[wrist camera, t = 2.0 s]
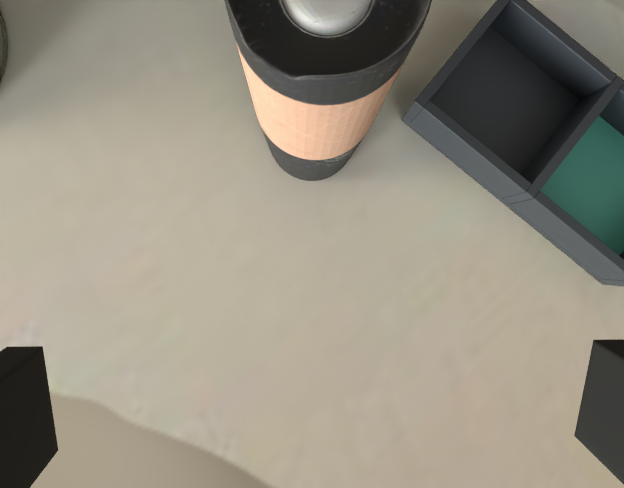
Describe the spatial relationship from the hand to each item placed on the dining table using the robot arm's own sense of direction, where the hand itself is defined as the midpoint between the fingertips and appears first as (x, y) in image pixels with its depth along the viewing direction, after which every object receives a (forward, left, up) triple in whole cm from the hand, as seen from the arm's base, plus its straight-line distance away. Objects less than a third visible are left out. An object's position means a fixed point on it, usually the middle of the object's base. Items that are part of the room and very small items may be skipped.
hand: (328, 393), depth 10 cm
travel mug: (-8, +10, -24) cm, 27 cm away
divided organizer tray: (+8, +22, -24) cm, 33 cm away
